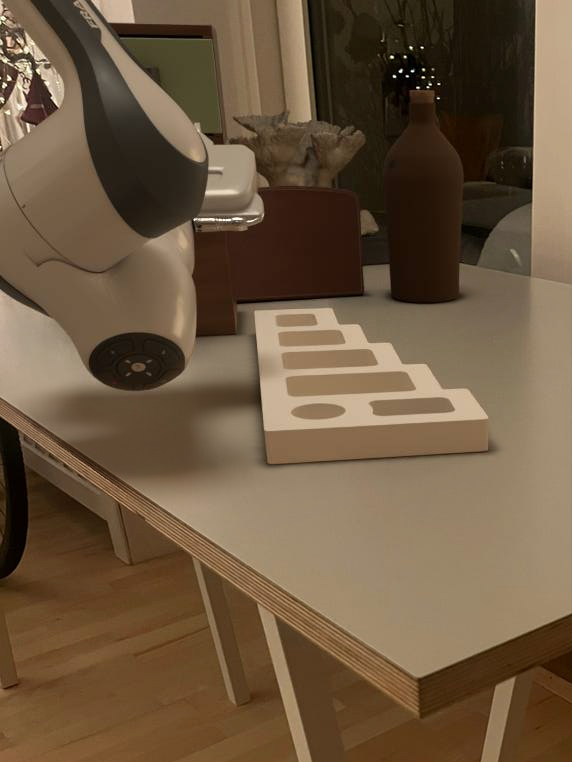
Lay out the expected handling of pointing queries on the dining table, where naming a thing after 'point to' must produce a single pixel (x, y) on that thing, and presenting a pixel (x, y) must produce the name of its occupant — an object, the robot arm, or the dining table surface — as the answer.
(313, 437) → the holder
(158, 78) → the drawer
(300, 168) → the coral
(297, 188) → the letter holder
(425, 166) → the olive oil
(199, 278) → the stand
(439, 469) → the dining table surface
